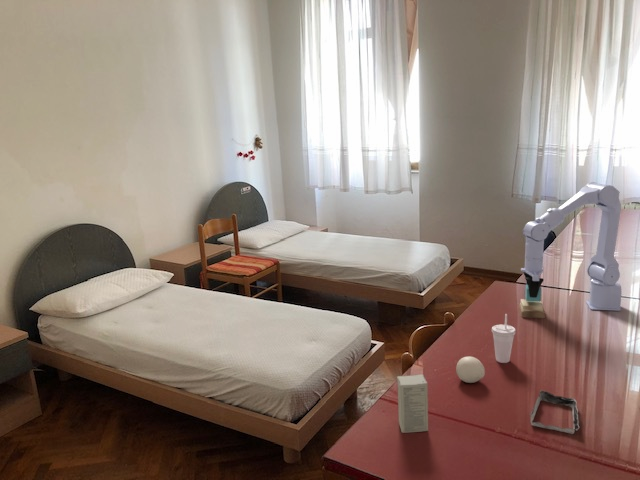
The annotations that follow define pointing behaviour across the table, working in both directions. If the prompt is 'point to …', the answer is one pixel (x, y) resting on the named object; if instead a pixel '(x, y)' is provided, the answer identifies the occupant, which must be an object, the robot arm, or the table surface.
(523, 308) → the maple top block
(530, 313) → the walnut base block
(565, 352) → the table surface
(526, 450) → the table surface
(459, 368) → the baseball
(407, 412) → the skincare box
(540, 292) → the teal block
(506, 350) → the smoothie
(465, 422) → the table surface
